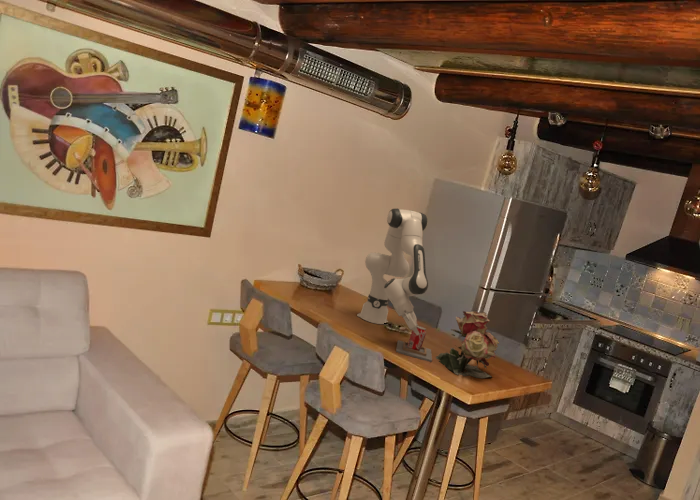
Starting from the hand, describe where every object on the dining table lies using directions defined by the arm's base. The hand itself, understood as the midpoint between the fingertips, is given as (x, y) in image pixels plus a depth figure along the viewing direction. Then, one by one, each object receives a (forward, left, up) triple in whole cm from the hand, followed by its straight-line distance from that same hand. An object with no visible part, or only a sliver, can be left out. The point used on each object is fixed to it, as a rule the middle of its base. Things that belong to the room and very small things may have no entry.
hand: (418, 332), depth 315 cm
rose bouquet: (+5, +27, -11) cm, 30 cm away
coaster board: (0, 0, -10) cm, 10 cm away
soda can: (+1, 0, -9) cm, 9 cm away
